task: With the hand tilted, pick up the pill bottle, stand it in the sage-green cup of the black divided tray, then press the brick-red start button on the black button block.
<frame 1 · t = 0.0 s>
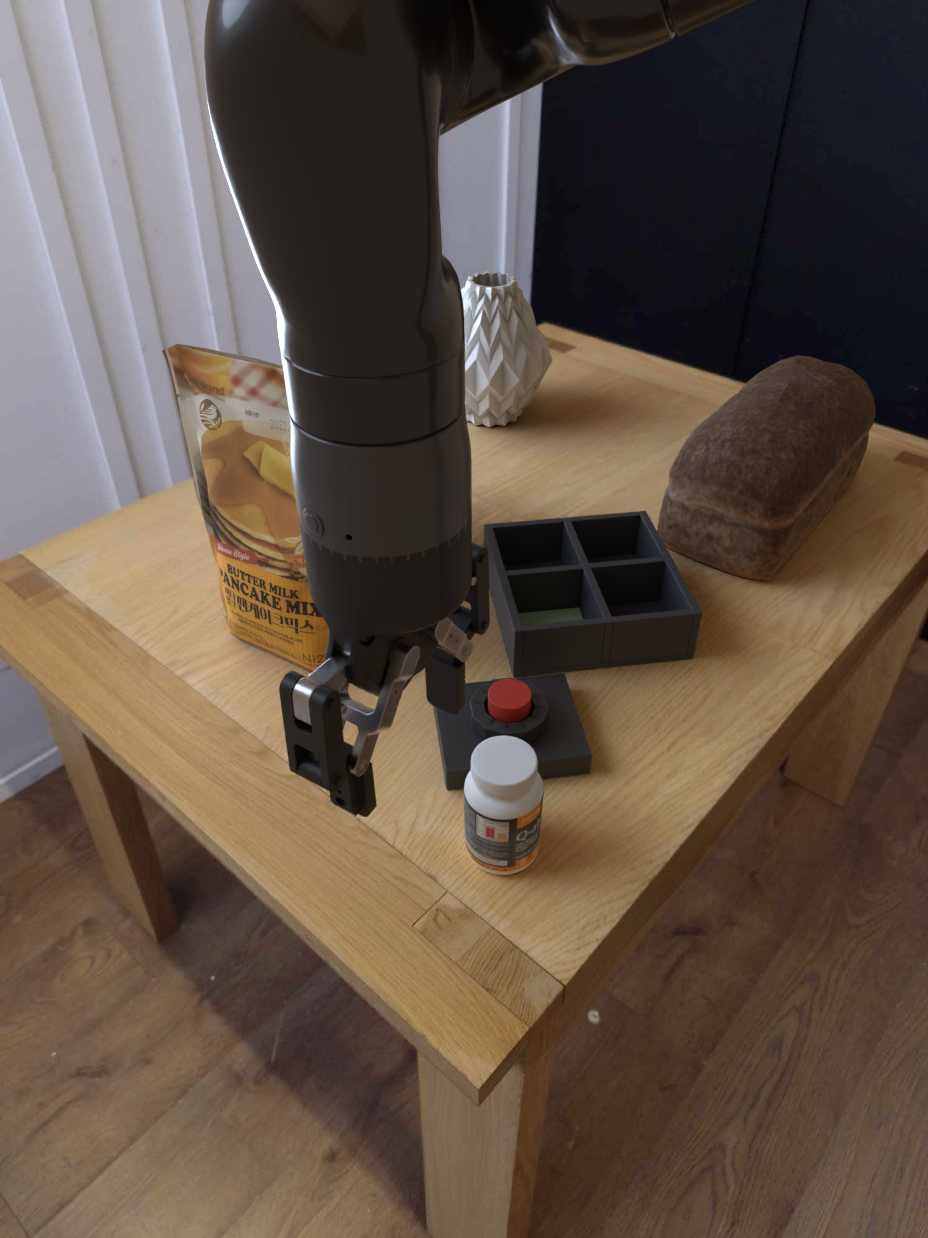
hand: (403, 753, 48), 20 cm above the table, tool pointing down, fingers open, 8 cm apart
vase: (490, 415, 123), on the table
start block: (508, 737, 76), on the table
planter: (374, 539, 100), on the table
black divided tray: (581, 610, 90), on the table
pill bottle: (501, 847, 68), on the table
pancake mix bag: (293, 639, 87), on the table
start button: (509, 701, 73), point 4 cm above the table, slide at 0.1 cm
bread: (759, 508, 104), on the table
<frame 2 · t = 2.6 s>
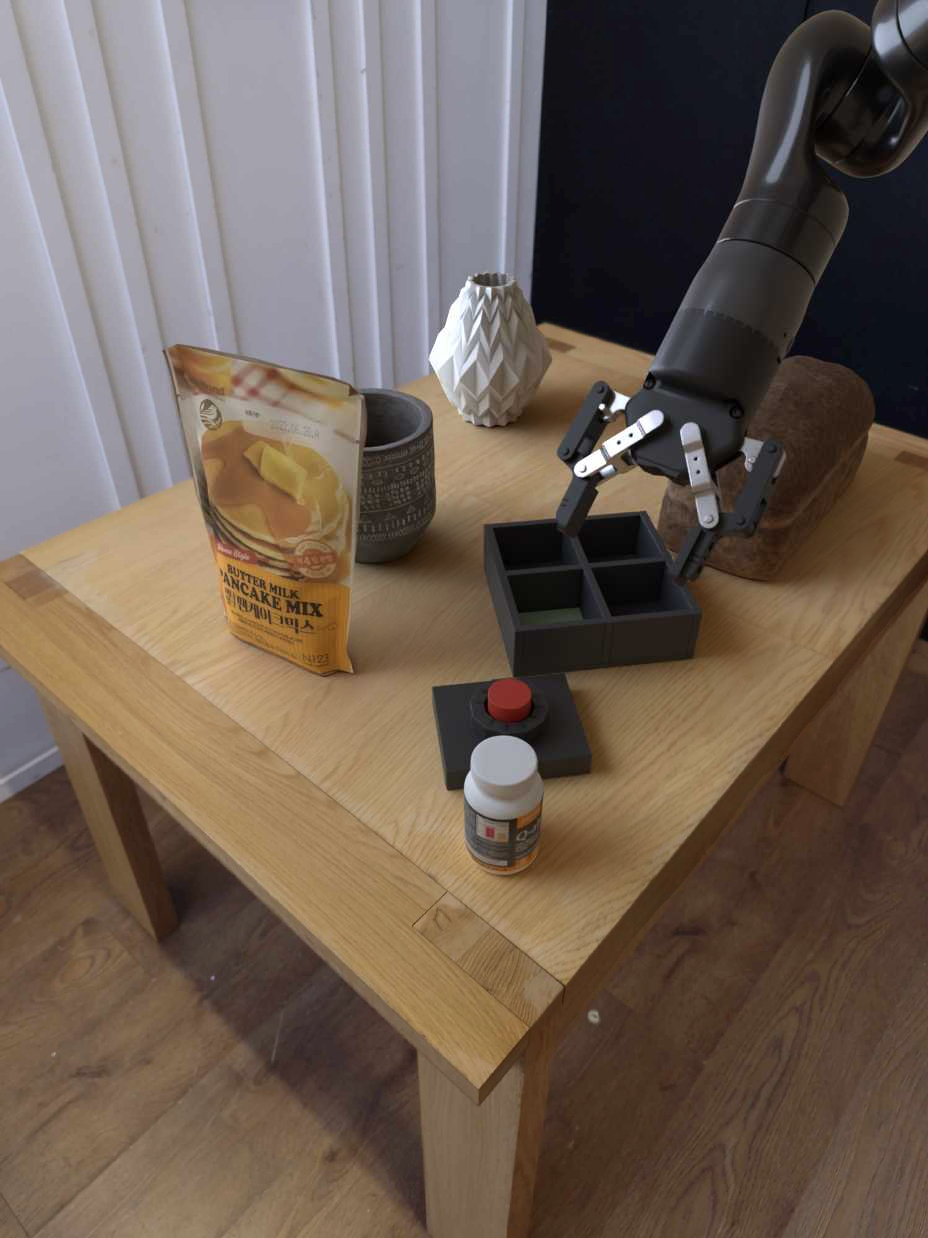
hand: (618, 558, 59), 22 cm above the table, tool tilted 45°, fingers open, 8 cm apart
nothing on the table moved.
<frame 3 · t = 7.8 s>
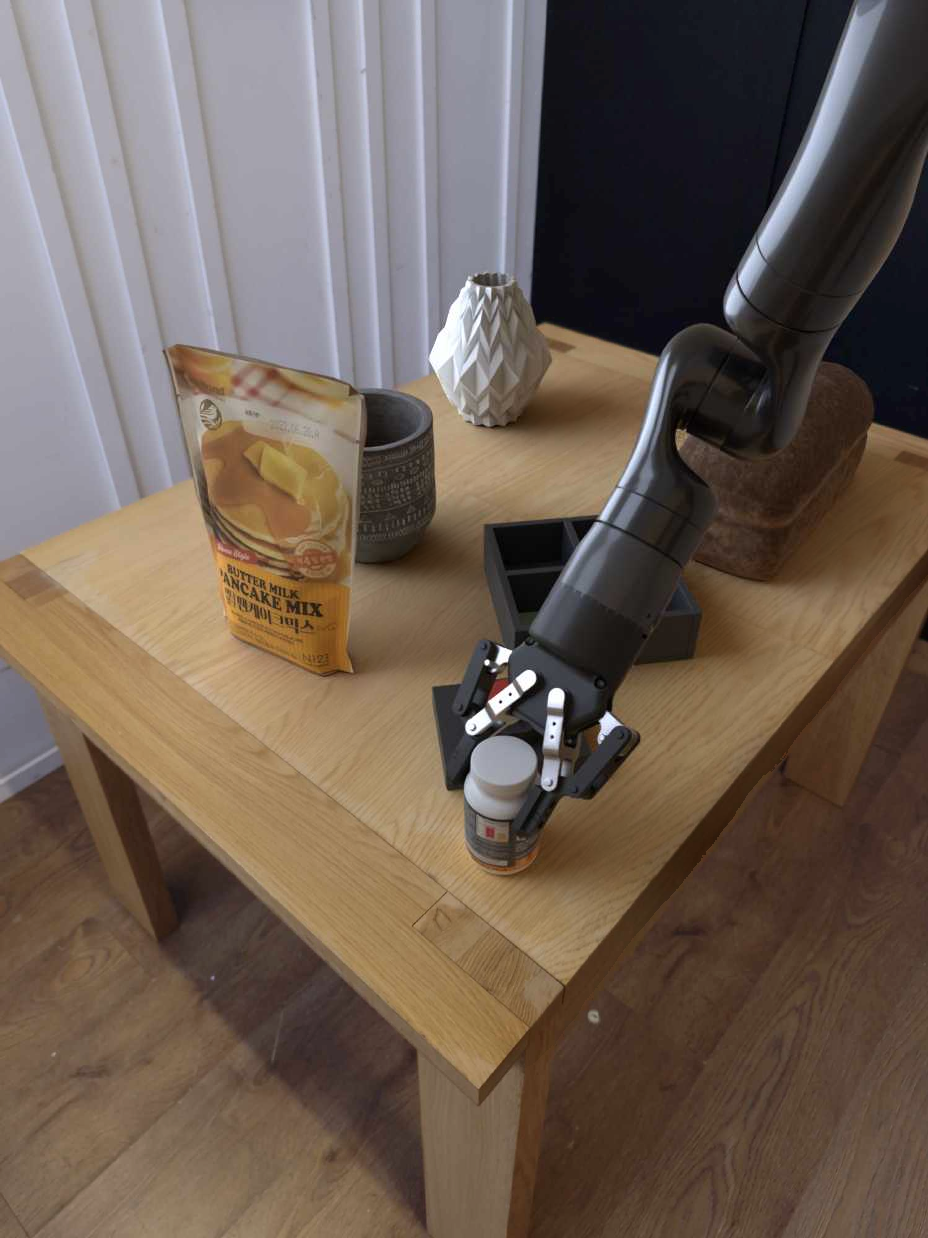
hand: (486, 807, 63), 6 cm above the table, tool tilted 45°, fingers closed on pill bottle, 5 cm apart
pill bottle: (501, 847, 68), on the table, touching gripper
everything else where it was.
when the fingers open (7 cm above the table, at t = 17.8 s): pill bottle stays where it is, resting on black divided tray.
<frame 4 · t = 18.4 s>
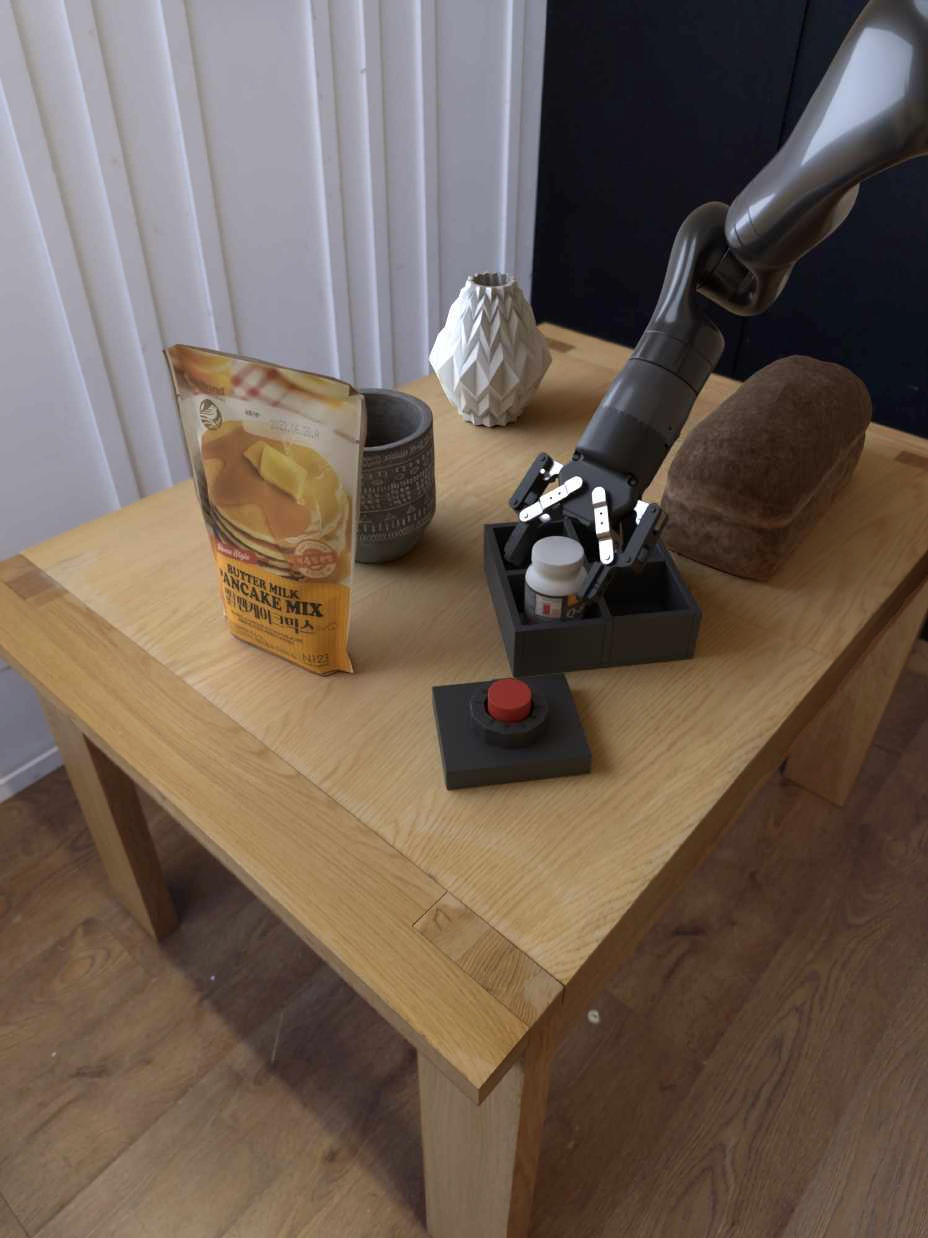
hand: (545, 582, 80), 8 cm above the table, tool tilted 45°, fingers open, 8 cm apart
pill bottle: (552, 635, 86), point 1 cm above the table, touching black divided tray
everything else where it was.
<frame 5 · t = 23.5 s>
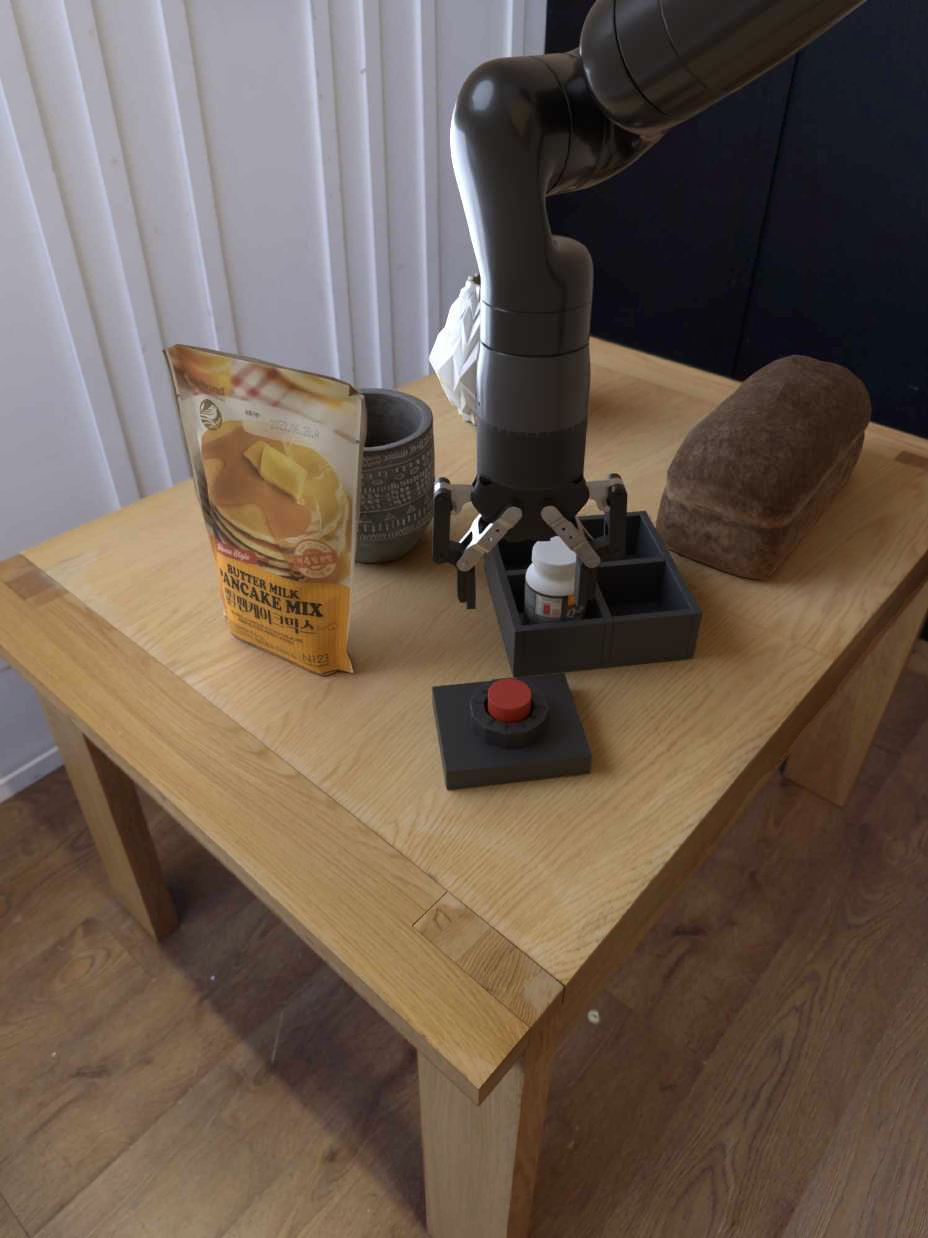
hand: (525, 602, 69), 14 cm above the table, tool pointing down, fingers open, 8 cm apart
nothing on the table moved.
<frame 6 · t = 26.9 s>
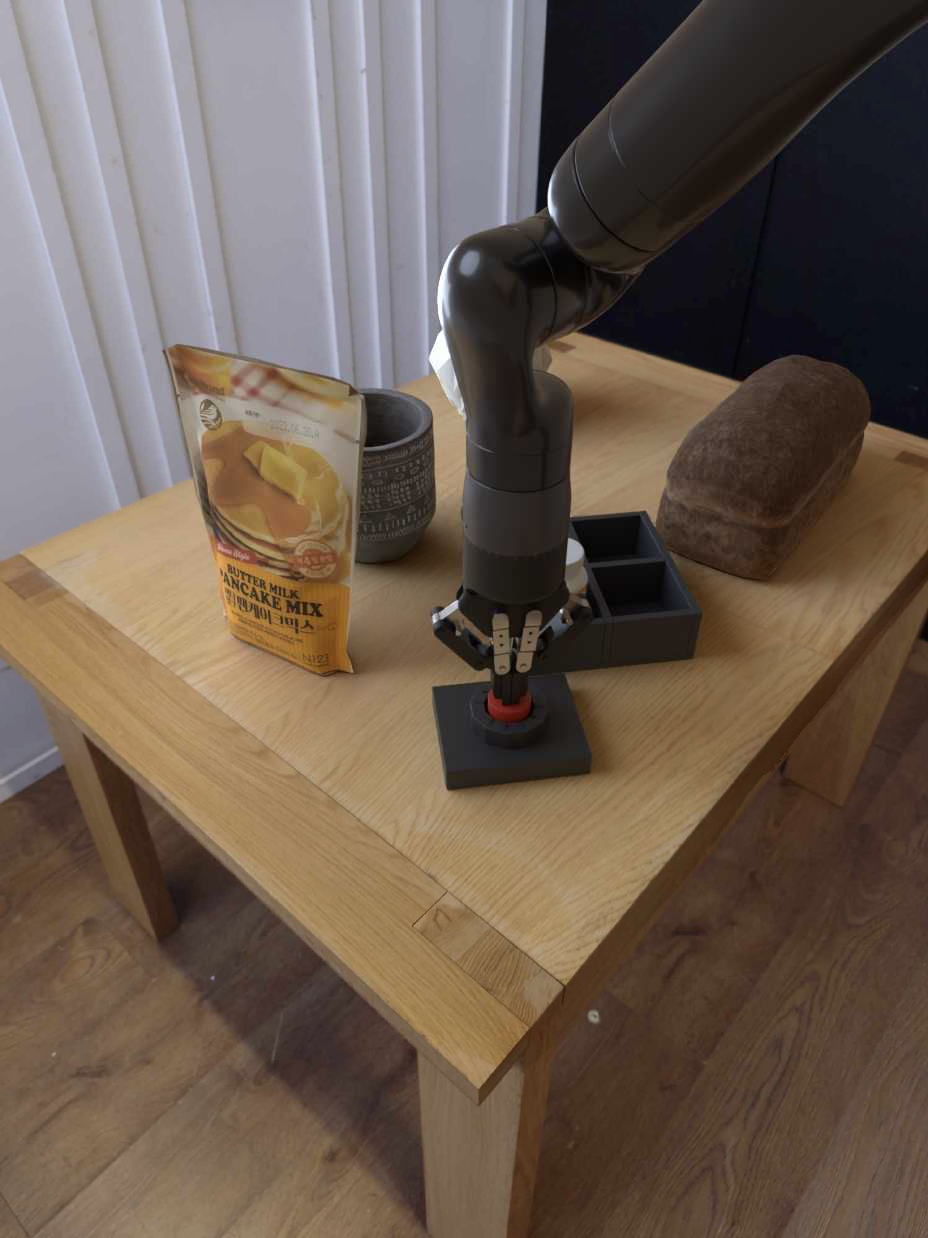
hand: (508, 696, 73), 5 cm above the table, tool pointing down, fingers closed
start button: (509, 704, 74), point 4 cm above the table, slide at -0.4 cm, touching gripper
everything else where it was.
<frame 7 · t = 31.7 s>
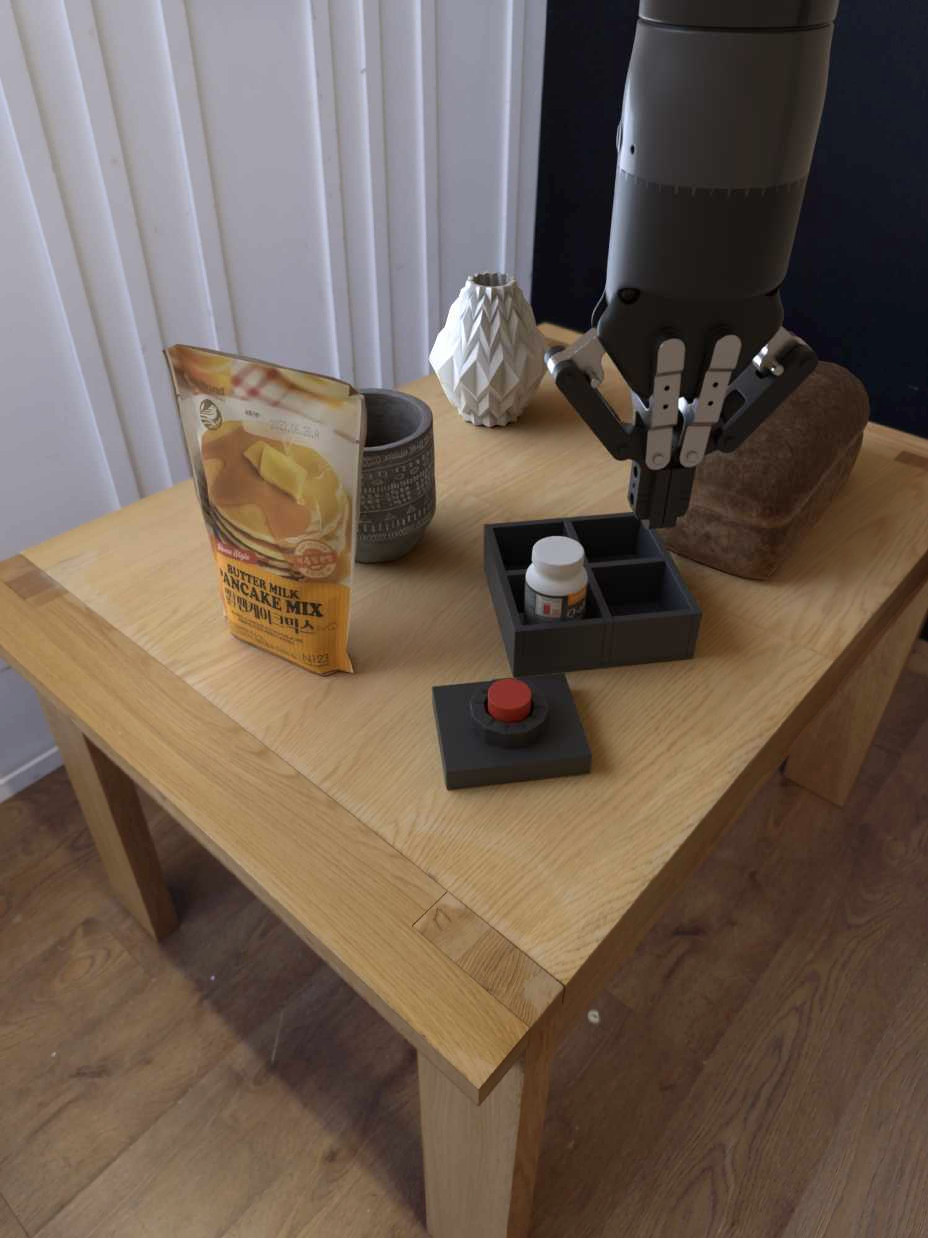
hand: (655, 520, 46), 31 cm above the table, tool pointing down, fingers closed
start button: (509, 701, 73), point 4 cm above the table, slide at 0.1 cm
everything else where it was.
at the end: pill bottle 0.2 cm from the target spot in the black divided tray, point 0.6 cm above the black divided tray's base; pill bottle tilted 0°; start button pushed in 1.1 cm at the most during the clip, back to where it started at the end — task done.
